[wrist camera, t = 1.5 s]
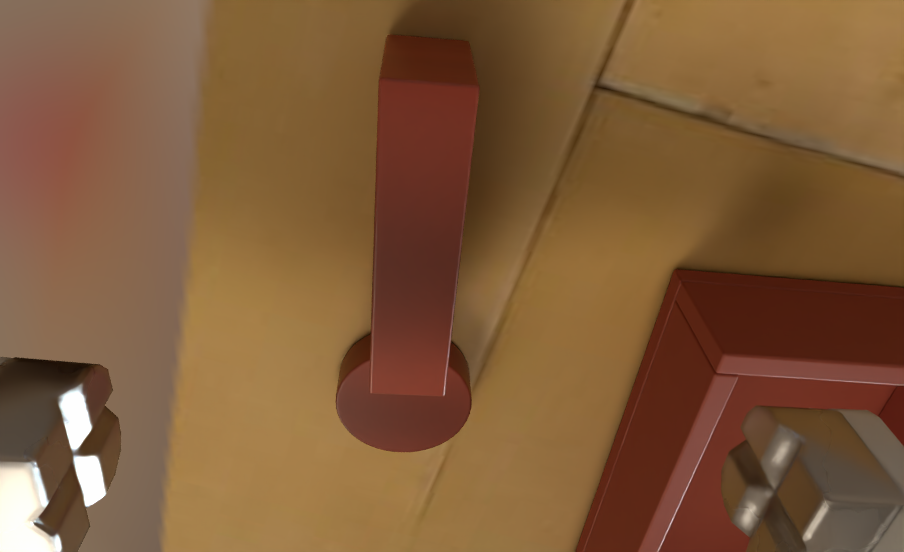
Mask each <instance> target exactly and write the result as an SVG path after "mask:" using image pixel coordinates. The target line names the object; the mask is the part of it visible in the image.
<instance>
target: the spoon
mask: <svg viewBox="0 0 904 552" xmlns="http://www.w3.org/2000/svg"><path fill="white" fill-rule="evenodd" d="M479 90H480V87H479V83H478V79H477V74H476V70H475V66H474V61H473V57H472V53H471V48H470V44H469V42H468V41H463V40H451V39H439V38H427V37H415V36H404V35H392V34H389V35H387V37H386V42H385V48H384V54H383V59H382V65H381V71H380V76H379V89H378V121H377V153H376V185H375V217H374V249H373V281H372V313H371V334H370V335H368V336H366V337H364V338H363V339H361V340H360V341H358V342H357V343H356V344H355V345H354V346H353V347H352V348H351V349H350V350H349V351H348V353H347V354H346V356H345V357H344V360H343V362H342V364H341V368H340V374H339V380H338V387H337V393H336V409H337V413H338V416H339V418H340V420H341V422H342V423H343V425H344V426H345V428H346V429H347V430H348V431H349V432H350V433H351V434H352V435H353V436H354V437H356V438H357V439H359V440H360V441H362V442H364V443H366V444H368V445H370V446H372V447H375V448H378V449H382V450H386V451H392V452H415V451H421V450H426V449H429V448H433V447H435V446H438V445H440V444H442V443H444V442H446V441H447V440H449V439H450V438H452V437H453V436H454V435H455V434H456V433H458V432H459V431H460V429H461V428H462V427H463V426H464V424H465V422H466V421H467V419H468V416H469V414H470V410H471V404H472V399H471V387H470V376H469V368H468V365H467V362H466V360H465V358H464V356H463V355H462V353H461V352H460V350H459V349H458V348H457V347H456V346H455V345H454V344H453V343H451V337H452V328H453V319H454V311H455V302H456V293H457V284H458V275H459V266H460V258H461V249H462V240H463V231H464V222H465V214H466V205H467V196H468V187H469V178H470V170H471V161H472V152H473V143H474V134H475V126H476V117H477V108H478V99H479Z"/></svg>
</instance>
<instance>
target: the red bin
mask: <svg viewBox="0 0 904 552" xmlns="http://www.w3.org/2000/svg"><path fill="white" fill-rule="evenodd" d="M756 405H763V406H781V407H799V408H817V409H827V410H828V409H854V410H868V411H870V412H872V413H873V414H875V415H877V416H878V417H880V418H881V420H882V421H883V422H884V423H885V424H886V426H887V427H888V428H889V429H890V430H891V432H892V433H893V434H894V435H895V436H896V438H897V439H898V440H899V441H900V442H901V444H902V445H903V446H904V288H900V287H888V286H876V285H863V284H851V283H839V282H826V281H814V280H802V279H790V278H777V277H765V276H753V275H740V274H728V273H716V272H704V271H691V270H679V269H676V270H674V272H673V275H672V278H671V281H670V284H669V286H668V289H667V292H666V295H665V298H664V301H663V304H662V306H661V309H660V312H659V315H658V318H657V321H656V323H655V326H654V329H653V332H652V335H651V338H650V341H649V343H648V346H647V349H646V352H645V355H644V358H643V361H642V363H641V366H640V369H639V372H638V375H637V378H636V381H635V383H634V386H633V389H632V392H631V395H630V398H629V401H628V403H627V406H626V409H625V412H624V415H623V418H622V420H621V423H620V426H619V429H618V432H617V435H616V438H615V440H614V443H613V446H612V449H611V452H610V455H609V458H608V460H607V463H606V466H605V469H604V472H603V475H602V478H601V480H600V483H599V486H598V489H597V492H596V495H595V498H594V500H593V503H592V506H591V509H590V512H589V515H588V517H587V520H586V523H585V526H584V529H583V532H582V535H581V537H580V540H579V543H578V546H577V549H576V552H746V550H747V546H748V543H749V540H750V537H748V536H747V535H746V534H745V533H744V532H742V531H741V530H740V529H739V528H738V527H737V526H735V525H734V524H733V523H732V522H731V520H730V517H729V515H728V513H727V511H726V509H725V506H724V502H723V498H722V493H721V469H722V467H723V465H724V462H725V460H726V457H727V455H728V452H729V451H730V450H731V449H733V448H734V447H736V446H737V445H739V444H740V443H742V442H743V441H744V440H745V437H744V435H743V433H742V430H741V428H740V426H741V424H742V422H743V420H744V418H745V416H746V414H747V412H749V411H750V410H751V409H752V408H753V407H755V406H756Z"/></svg>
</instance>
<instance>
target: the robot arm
mask: <svg viewBox="0 0 904 552" xmlns="http://www.w3.org/2000/svg"><path fill="white" fill-rule="evenodd" d="M112 391H113V389H112V384H111V380H110V376H109V372H108V369H107V368H105V367H103V366H102V365H100V364H88V363H76V362H65V361H53V360H41V359H40V360H39V359H28V358H17V357H15V358H7V357H0V552H78V550H79V548H80V546H81V544H82V542H83V539H84V538H85V536H86V533H87V532H88V529H89V527H90V523H89V519H88V515H87V511H86V508H87V507H89V506H90V505H91V504H93V503H95V502H96V501H97V500H99V499H100V498H102V497H103V496H105V495H106V493H107V491H108V489H109V487H110V484H111V482H112V480H113V478H114V476H115V473H116V468H117V464H118V460H119V455H120V452H121V431H120V424H119V419H118V417H117V416H116V415H115V414H114V413H113V412H111V411H110V410H109V409H108V408H107V407H106V406H105V404H106V402H107V400H108V398H109V396H110V395H111V393H112ZM740 428H741V430H742V433H743V435H744V437H745V440H744V441H743V442H742V443H740V444H739V445H737V446H736V447H734V448H733V449H731V450H730V451H729V452H728V455H727V457H726V460H725V462H724V465H723V467H722V469H721V493H722V498H723V502H724V506H725V509H726V511H727V513H728V515H729V517H730V520H731V522H732V523H733V524H734V525H735V526H737V527H738V528H739V529H740V530H741V531H742V532H744V533H745V534H746V535H747V536H748V537H750V540H749V543H748V546H747V550H746V552H904V446H903V445H902V444H901V442H900V441H899V440H898V439H897V438H896V436H895V435H894V434H893V433H892V432H891V430H890V429H889V428H888V427H887V426H886V424H885V423H884V422H883V421H882V420H881V418H880V417H878V416H877V415H875V414H873V413H872V412H870V411H868V410H854V409H828V410H827V409H817V408H799V407H781V406H763V405H756V406H755V407H753V408H752V409H751V410H750V411H749V412H747V414H746V416H745V418H744V420H743V422H742V424H741V426H740Z"/></svg>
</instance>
